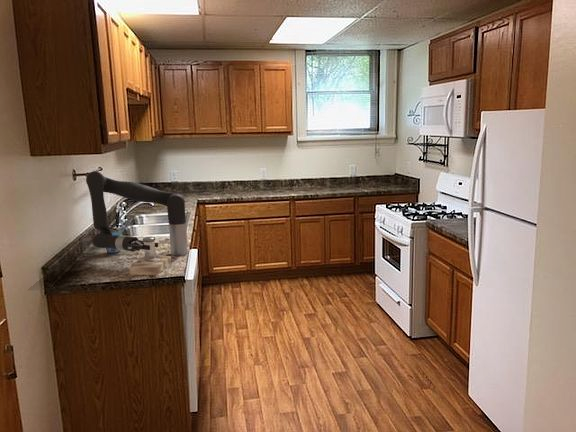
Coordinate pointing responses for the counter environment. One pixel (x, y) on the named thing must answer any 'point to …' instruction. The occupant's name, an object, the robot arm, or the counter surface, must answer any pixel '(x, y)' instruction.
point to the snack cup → (111, 250)
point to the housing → (150, 241)
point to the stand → (150, 266)
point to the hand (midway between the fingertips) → (153, 246)
